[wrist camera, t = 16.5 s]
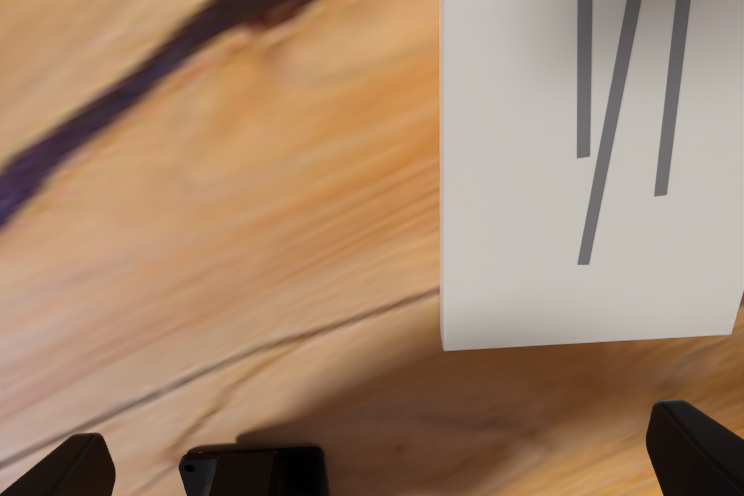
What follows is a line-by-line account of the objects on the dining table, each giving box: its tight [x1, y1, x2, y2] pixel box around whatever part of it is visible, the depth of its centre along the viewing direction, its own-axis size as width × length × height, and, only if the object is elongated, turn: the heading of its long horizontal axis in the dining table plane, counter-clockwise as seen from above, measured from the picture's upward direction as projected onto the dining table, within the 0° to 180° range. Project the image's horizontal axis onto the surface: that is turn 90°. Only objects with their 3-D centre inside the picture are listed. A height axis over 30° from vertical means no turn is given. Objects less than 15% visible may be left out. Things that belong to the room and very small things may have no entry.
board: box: [439, 0, 744, 351], centre depth 18 cm, size 21×11×1 cm, turn 3°
